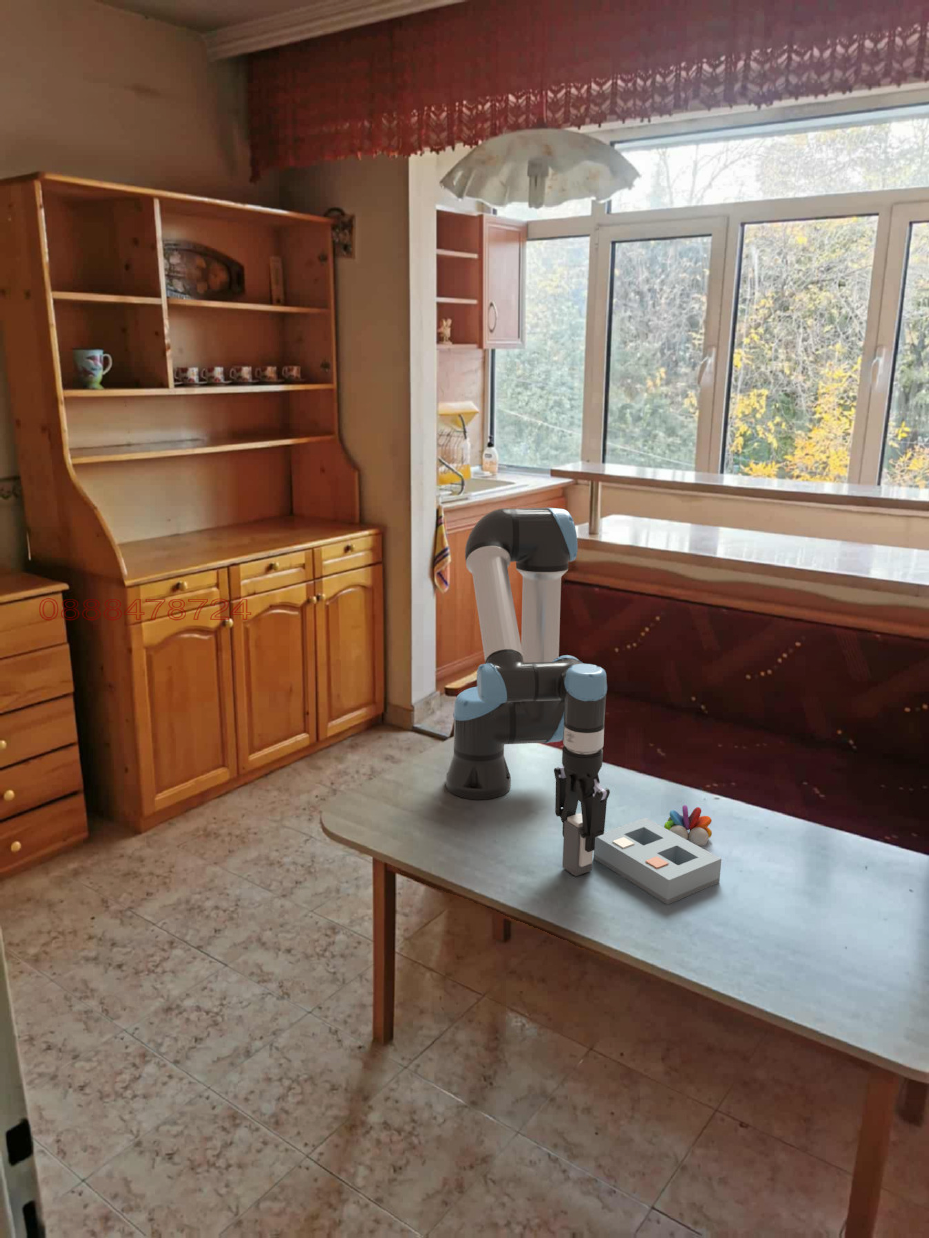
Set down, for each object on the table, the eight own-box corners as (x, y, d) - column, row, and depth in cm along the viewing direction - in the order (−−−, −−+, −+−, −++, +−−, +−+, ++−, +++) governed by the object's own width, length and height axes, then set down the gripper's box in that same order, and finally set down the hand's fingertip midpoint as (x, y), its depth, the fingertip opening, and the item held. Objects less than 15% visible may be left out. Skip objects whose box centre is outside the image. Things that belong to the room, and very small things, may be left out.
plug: (562, 867, 182) (564, 816, 179) (577, 861, 184) (580, 811, 181) (575, 876, 178) (578, 825, 176) (591, 870, 181) (594, 819, 178)
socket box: (593, 858, 186) (594, 834, 184) (644, 839, 193) (645, 816, 192) (667, 904, 170) (669, 878, 168) (719, 882, 177) (721, 857, 176)
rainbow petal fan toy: (712, 850, 189) (715, 818, 188) (663, 845, 191) (665, 813, 189) (710, 831, 198) (712, 799, 196) (663, 826, 199) (665, 795, 197)
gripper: (538, 736, 179) (534, 845, 185) (598, 767, 165) (592, 884, 172) (568, 728, 183) (563, 835, 189) (629, 758, 170) (622, 872, 176)
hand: (577, 858), depth 181 cm, fingers closed on plug, 4 cm apart
